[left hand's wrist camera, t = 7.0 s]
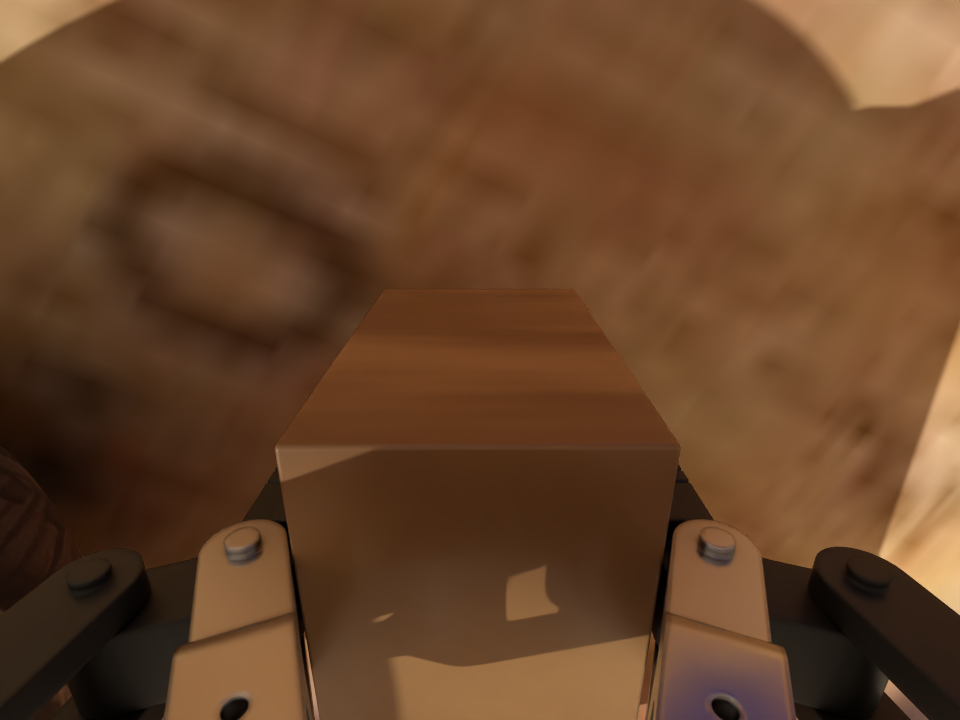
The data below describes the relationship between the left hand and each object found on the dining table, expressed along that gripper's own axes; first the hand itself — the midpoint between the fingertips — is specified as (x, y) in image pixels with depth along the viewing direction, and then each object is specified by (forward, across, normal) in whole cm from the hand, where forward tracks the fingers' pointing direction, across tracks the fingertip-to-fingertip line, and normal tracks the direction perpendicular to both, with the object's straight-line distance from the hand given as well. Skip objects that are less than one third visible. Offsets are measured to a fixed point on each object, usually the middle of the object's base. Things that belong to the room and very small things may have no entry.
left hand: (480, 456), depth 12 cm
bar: (+4, 0, -9) cm, 10 cm away
